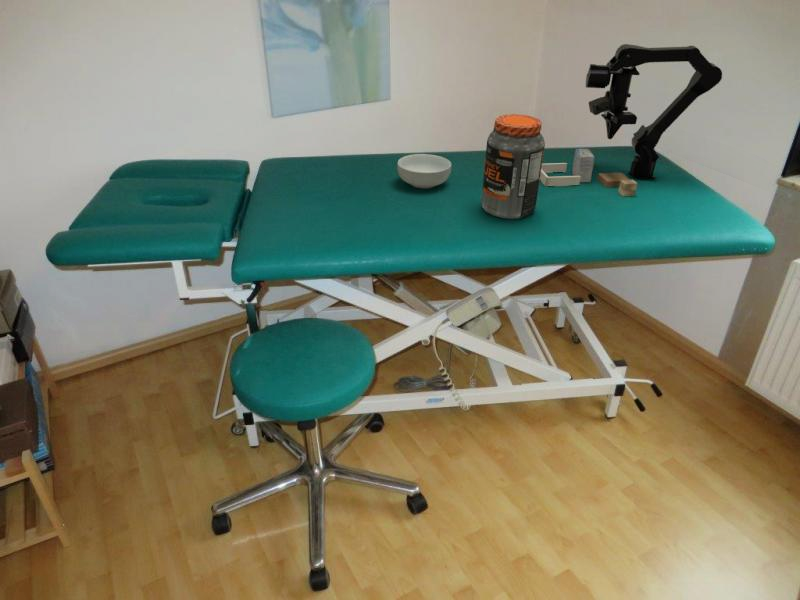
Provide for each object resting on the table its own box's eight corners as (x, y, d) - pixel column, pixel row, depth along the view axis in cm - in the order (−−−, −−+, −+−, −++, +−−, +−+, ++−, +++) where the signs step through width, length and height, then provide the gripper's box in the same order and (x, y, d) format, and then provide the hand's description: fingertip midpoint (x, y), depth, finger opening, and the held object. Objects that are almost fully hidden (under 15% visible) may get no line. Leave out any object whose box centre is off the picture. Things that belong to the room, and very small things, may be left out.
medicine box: (590, 182, 193) (595, 156, 189) (576, 182, 194) (581, 156, 189) (584, 174, 200) (589, 148, 195) (571, 173, 200) (575, 148, 196)
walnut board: (620, 179, 197) (621, 172, 196) (629, 187, 191) (631, 180, 190) (596, 180, 196) (598, 173, 195) (605, 188, 190) (607, 181, 189)
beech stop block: (630, 192, 187) (633, 179, 185) (634, 195, 185) (637, 183, 182) (618, 192, 187) (620, 180, 185) (622, 196, 184) (625, 183, 182)
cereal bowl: (422, 198, 181) (422, 176, 177) (386, 182, 191) (386, 161, 188) (461, 185, 190) (462, 163, 187) (425, 170, 201) (426, 150, 197)
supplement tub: (470, 203, 178) (477, 115, 164) (516, 195, 184) (526, 109, 170) (498, 224, 166) (508, 131, 152) (546, 215, 171) (560, 124, 158)
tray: (564, 171, 202) (566, 162, 200) (579, 185, 191) (580, 176, 190) (533, 172, 200) (534, 163, 199) (545, 186, 190) (547, 177, 188)
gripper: (583, 82, 193) (574, 131, 201) (607, 97, 177) (597, 148, 186) (616, 81, 194) (606, 130, 203) (642, 96, 179) (631, 147, 187)
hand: (609, 138), depth 194 cm, fingers closed
